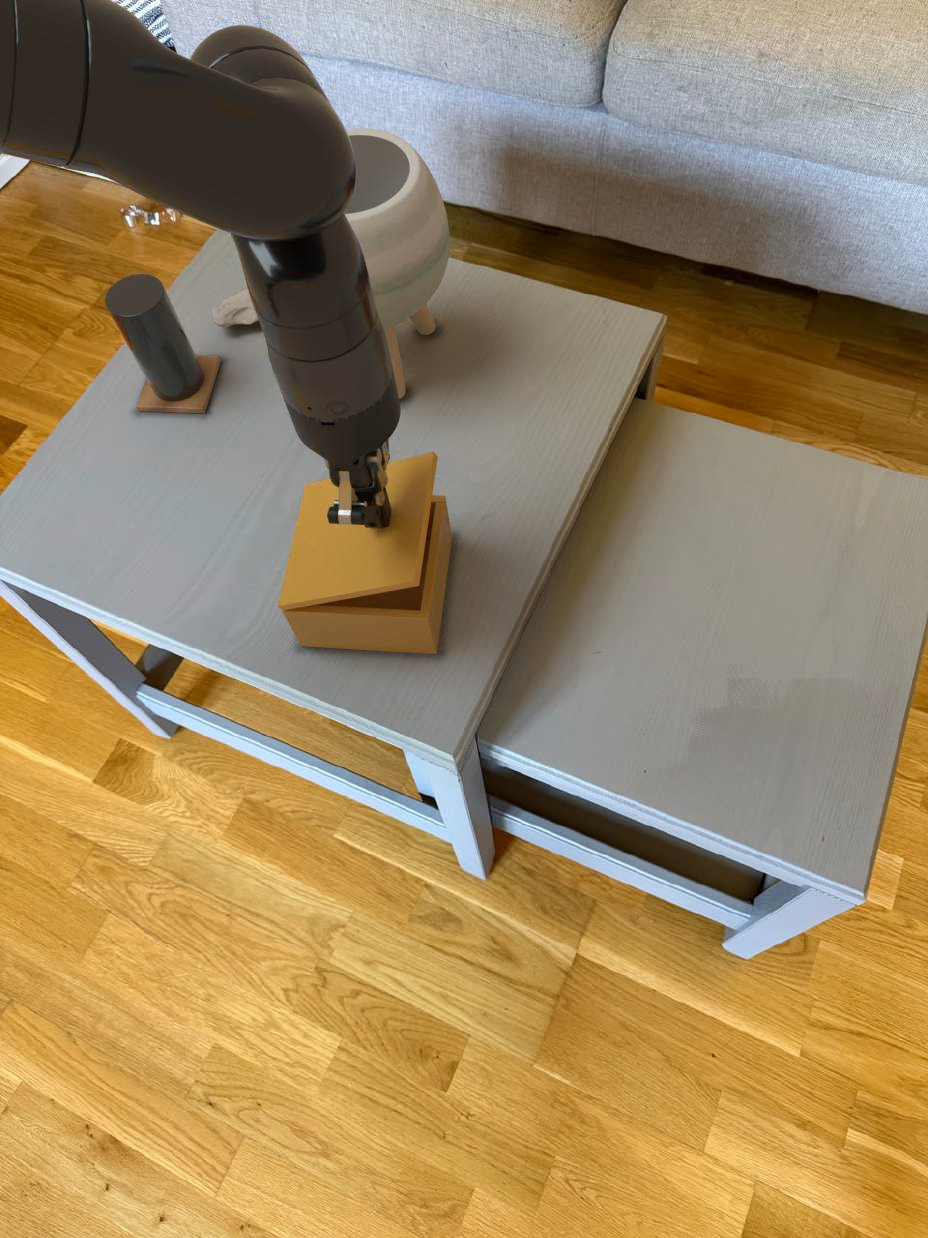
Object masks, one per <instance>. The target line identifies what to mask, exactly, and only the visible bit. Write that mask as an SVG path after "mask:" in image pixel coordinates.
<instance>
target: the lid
mask: <svg viewBox="0 0 928 1238" xmlns="http://www.w3.org/2000/svg"><path fill="white" fill-rule="evenodd" d="M438 459H439V456H438V455H437V454H436V453H435V451H429V452H425V453H421V454H419V455H418V454H417V455H414V456H410V457H407V458H402V459H399V460H394V461H391V462H388V464H387V468H386V474H387V477H388V483H387V486H386V491H387V495H388V498H389V502H390V506H391V510H392V511H391V517H390V523H389V526H388V527H383V528H366V527H365V525H347V524H329V522H328V518H327V513H328V510H329V507H332V506H333V501H334V500H339V488H338V487H336V486H334V485H333V484H332V482H331V480H330V477H329V478H326V479H322V480H318V481H313V482H309V483H306V484H304V488H303V493H302V497H301V502H300V507H299V511H298V514H297V519H296V525H295V528H294V533H293V537H292V541H291V546H290V551H289V555H288V559H287V564H286V568H285V573H284V577H283V582H282V586H281V590H280V595H279V598H278V599H279V600H278V604H277V607H278V608H279V609H281V611H282V610H288V609H294V608H299V607H305V606H310V605H316V604H321V603H327V602H332V601H338V600H344V599H349V598H355V597H360V596H366V595H371V594H377V593H382V592H388V591H393V590H399V589H404V588H410V587H416V586H419V583H420V576H421V569H422V562H423V555H424V549H425V542H426V535H427V528H428V521H429V514H430V507H431V501H432V495H434V494H433V493H434V486H435V479H436V473H437V466H438Z"/></svg>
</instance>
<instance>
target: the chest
mask: <svg viewBox="0 0 928 1238" xmlns="http://www.w3.org/2000/svg"><path fill="white" fill-rule="evenodd" d="M447 503H448V502H447V498H446V495H440V494H439V495H438V494H432V501H431V507H430V514H429V521H428V528H427V535H426V542H425V549H424V555H423V562H422V569H421V576H420V583H419V586H416V587H410V588H404V589H399V590H393V591H388V592H382V593H377V594H371V595H366V596H360V597H355V598H349V599H344V600H338V601H332V602H327V603H321V604H316V605H310V606H305V607H299V608H294V609H288V610H282V609H281V611H282V613H283V616H284V617H285V619H286V621H287V624H288V625H289V626H290V629H291V631H292V633H293V634H294V636H295V639H296V640H297V642H298V644H299V645H300V647H308V648H309V647H310V648H323V649H340V650H358V651H371V652H372V651H373V652H389V653H405V654H406V653H407V654H423V655H437V653H438V648H439V641H440V633H441V625H442V618H443V609H444V603H445V594H446V587H447V579H448V572H449V571H448V570H449V564H450V556H451V548H452V540H453V534H452V529H451V523H450V522H451V521H450V517H449V511H448V504H447Z"/></svg>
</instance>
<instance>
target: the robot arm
mask: <svg viewBox="0 0 928 1238" xmlns="http://www.w3.org/2000/svg"><path fill="white" fill-rule="evenodd" d="M346 130H347V129H346V127H345V125H344V123H343V122H342V119H341V118H340V117H339V115H338V113H337V111H336V110H335V108H334V106H333V105H332V103H331V101H330V100H329V98H328V97H327V95H326V93H325V92H324V90H323V88H322V87H321V85H320V83H319V82H318V80H317V78H316V76H315V74H314V73H313V72H312V69H311V68H310V67H309V65H308V63H307V62H306V61H305V60H304V58H303V57H302V55H301V54H300V53H299V52H298V50H296V49H295V48H294V47H292V46H291V44H289V43H288V42H287V41H286V40H284V39H283V38H282V37H281V36H279V35H277V34H276V33H274V32H272V31H270V30H268V29H264V28H261V27H257V26H254V25H246V24H237V25H230V26H227V27H222V28H220V29H218V30H215V31H214V32H212V33H211V34H209V35H208V36H207V37H205V38H204V39H203V40H201V42H200V43H199V44H198V46H196V48H195V49H194V51H193V52H192V54H191V56H190V57H189V58H188V57H185V56H183V55H182V54H179V53H178V52H176V51H174V50H173V49H171V48H169V47H168V46H167V45H165V44H164V43H163V42H161V41H160V40H159V39H158V38H157V37H156V36H155V35H154V34H153V33H152V32H151V31H150V30H149V28H148V27H147V26H146V25H145V24H144V23H143V22H142V21H141V20H140V19H139V18H138V17H137V16H136V15H135V14H134V13H132V12H131V11H130V10H129V9H127V8H126V7H124V6H122V5H121V4H119V3H117V2H115V1H113V0H0V154H2V155H6V156H10V157H13V158H14V157H15V158H19V159H24V160H28V161H32V162H36V163H41V164H44V165H45V164H46V165H50V166H54V167H58V168H63V169H66V170H71V171H76V172H83V173H89V174H94V175H97V176H100V177H103V178H106V179H108V180H110V181H113V182H115V183H116V184H119V185H121V186H123V187H125V188H126V189H128V190H131V191H132V192H134V193H136V194H137V195H140V196H142V197H144V198H146V199H149V201H153V202H155V203H157V204H159V205H162V206H164V207H166V208H168V209H171V210H173V211H176V212H178V213H180V214H182V215H185V216H187V217H190V218H192V219H194V220H196V221H199V222H201V223H204V224H206V225H208V226H210V227H213V228H215V229H218V230H221V231H223V232H226V233H229V234H230V236H231V238H232V241H233V242H234V245H235V248H236V251H237V254H238V258H239V261H240V264H241V267H242V272H243V275H244V279H245V283H246V289H248V291H249V294H250V298H251V301H252V303H253V306H254V309H255V312H256V314H257V317H258V320H259V321H258V322H259V325H260V328H261V331H262V333H263V337H264V339H265V344H266V347H267V353H268V359H269V362H270V366H271V368H272V371H273V374H274V378H275V380H276V382H277V385H278V388H279V390H280V393H281V396H282V398H283V401H284V403H285V406H286V409H287V412H288V414H289V417H290V420H291V422H292V425H293V428H294V430H295V432H296V435H297V437H298V439H299V440H300V441H301V443H303V445H304V446H306V448H308V449H309V450H310V451H312V452H313V453H315V454H317V455H318V456H320V457H322V459H323V460H324V464H325V467H326V469H327V470H328V474H329V478H330V480H331V482H332V484H333V485H334V486H336V487H338V488H339V500H334V501H333V506H332V507H329V510H328V513H327V518H328V522H329V524H347V525H365V527H366V528H383V527H388V526H389V523H390V517H391V511H392V510H391V506H390V502H389V498H388V495H387V491H386V486H387V483H388V477H387V474H386V468H387V464H388V463H390V460H391V454H390V447H389V444H390V443H389V439H390V438H391V437H392V435H393V434H394V433H395V431H396V429H397V428H398V426H399V422H400V419H401V411H402V410H401V409H402V408H401V402H400V399H399V396H398V391H397V386H396V382H395V377H394V372H393V367H392V363H391V358H390V353H389V348H388V343H387V339H386V335H385V331H384V328H383V325H382V323H381V320H380V318H379V316H378V313H377V310H376V306H375V301H374V297H373V292H372V287H371V283H370V278H369V274H368V270H367V266H366V262H365V258H364V255H363V252H362V249H361V246H360V244H359V241H358V239H357V237H356V235H355V233H354V231H353V229H352V227H351V225H350V223H349V221H348V219H347V217H346V215H345V213H344V211H345V209H346V208H347V206H348V204H349V202H350V200H351V198H352V195H353V192H354V187H355V182H356V161H355V156H354V151H353V148H352V144H351V141H350V138H349V136H348V133H347V131H346Z"/></svg>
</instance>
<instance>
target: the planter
mask: <svg viewBox="0 0 928 1238" xmlns="http://www.w3.org/2000/svg"><path fill="white" fill-rule="evenodd" d="M346 131H347V133H348V136H349V138H350V141H351V144H352V148H353V151H354V156H355V161H356V182H355V187H354V192H353V195H352V198H351V200H350V202H349V204H348V206H347V208H346V209H345V211H344V213H345V215H346V217H347V219H348V221H349V223H350V225H351V227H352V229H353V231H354V233H355V235H356V237H357V239H358V241H359V244H360V246H361V249H362V252H363V255H364V258H365V262H366V266H367V270H368V274H369V278H370V283H371V287H372V292H373V297H374V301H375V306H376V310H377V313H378V316H379V318H380V320H381V323H382V325H383V328H384V331H385V335H386V339H387V343H388V348H389V353H390V358H391V363H392V367H393V372H394V377H395V382H396V386H397V391H398V396H399V400H400V399H402V398H404V396H405V394H406V390H407V389H406V383H405V376H404V370H403V365H402V359H401V352H400V346H399V341H398V335H397V329H396V327H397V326H398V325H400V324H402V323H404V322H406V321H407V320H408V319H409V320H410V321H411V322H412V324H413V325H414V327H415V328H416V330H417V332H418V333H420V334H421V335H424V336H425V335H426V336H428V335H431V334H432V333H434V332H435V330H436V326H437V325H436V321H435V319H434V316H433V314H432V312H431V310H430V308H429V306H428V304H427V303H428V302H430V300H431V298H433V296H434V295H435V293H436V292H437V290H438V289H439V287H440V285H441V283H442V281H443V279H444V276H445V274H446V270H447V267H448V262H449V259H450V249H451V248H450V247H451V239H450V237H451V235H450V226H449V220H448V213H447V211H446V206H445V203H444V200H443V199H444V198H443V196H442V194H441V191H440V188H439V186H438V184H437V182H436V179H435V178H434V175H433V173H432V172H431V170H430V168H429V167H428V165H427V163H426V162H425V160H424V159H423V157H422V156H421V155H420V153H419V152H418V151H417V150H416V149H415V148H414V146H413V145H411V144H410V143H409V142H408V141H406V140H405V139H403V138H402V137H400V136H399V135H397V134H393V133H392V132H389V131H385V130H381V129H374V128H348V129H346Z"/></svg>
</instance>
